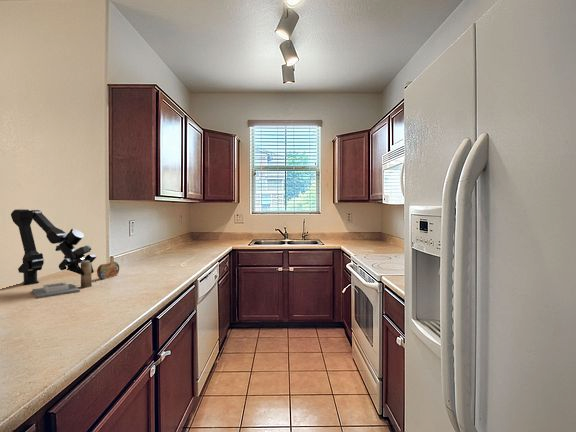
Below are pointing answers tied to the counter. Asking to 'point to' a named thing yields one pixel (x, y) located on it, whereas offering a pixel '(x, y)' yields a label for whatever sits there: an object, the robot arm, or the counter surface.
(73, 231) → the robot arm
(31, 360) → the counter surface
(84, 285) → the mill
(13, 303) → the counter surface
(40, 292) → the grey square frame plate
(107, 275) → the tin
